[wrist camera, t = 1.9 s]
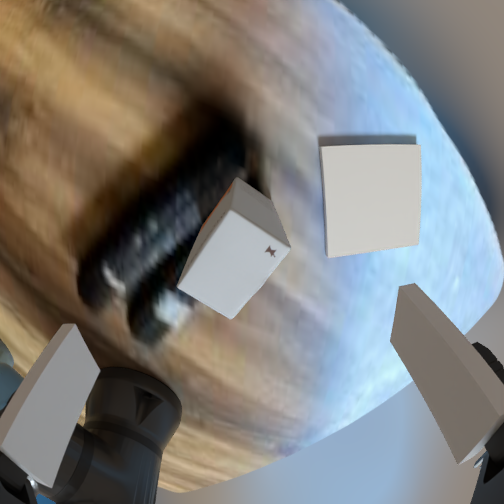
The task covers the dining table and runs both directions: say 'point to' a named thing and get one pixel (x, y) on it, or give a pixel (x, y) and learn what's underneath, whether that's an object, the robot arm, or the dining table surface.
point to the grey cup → (5, 355)
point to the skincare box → (235, 250)
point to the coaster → (370, 197)
